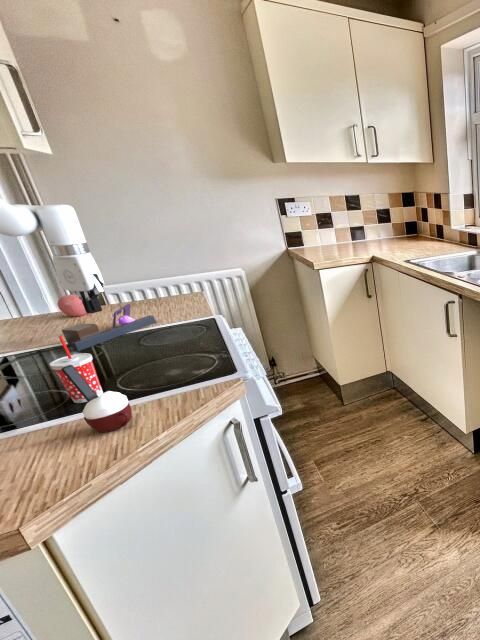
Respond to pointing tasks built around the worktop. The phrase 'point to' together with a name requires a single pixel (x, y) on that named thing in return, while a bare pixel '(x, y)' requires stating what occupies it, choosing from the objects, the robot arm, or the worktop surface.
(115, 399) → the cocoa
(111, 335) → the rail
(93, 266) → the robot arm
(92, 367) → the beverage cup
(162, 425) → the worktop surface
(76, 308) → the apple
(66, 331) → the walnut block
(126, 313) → the purple looped trinket
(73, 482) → the worktop surface
